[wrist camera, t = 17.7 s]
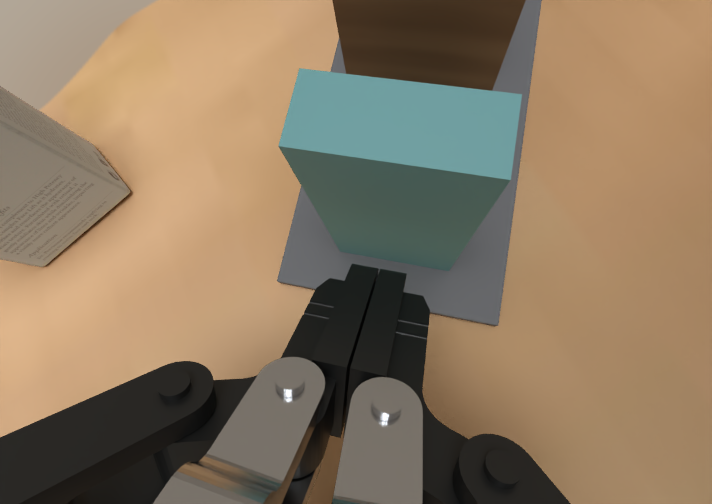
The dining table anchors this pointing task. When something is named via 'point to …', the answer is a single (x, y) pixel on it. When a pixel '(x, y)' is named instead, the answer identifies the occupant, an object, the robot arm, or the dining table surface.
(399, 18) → the domino
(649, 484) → the dining table surface
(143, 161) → the dining table surface
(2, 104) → the skincare box
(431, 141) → the domino
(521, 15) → the domino mat
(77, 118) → the dining table surface
